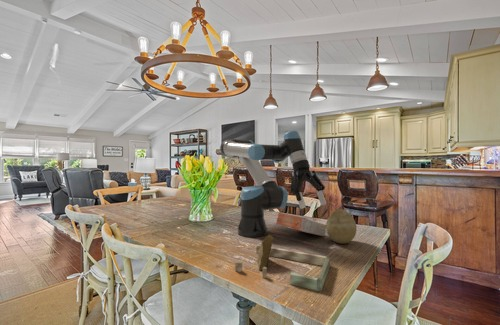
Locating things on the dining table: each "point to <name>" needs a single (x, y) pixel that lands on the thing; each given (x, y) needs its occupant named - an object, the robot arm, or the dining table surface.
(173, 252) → the dining table surface
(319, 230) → the cracker box
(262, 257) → the rock
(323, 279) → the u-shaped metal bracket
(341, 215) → the fossilized egg
